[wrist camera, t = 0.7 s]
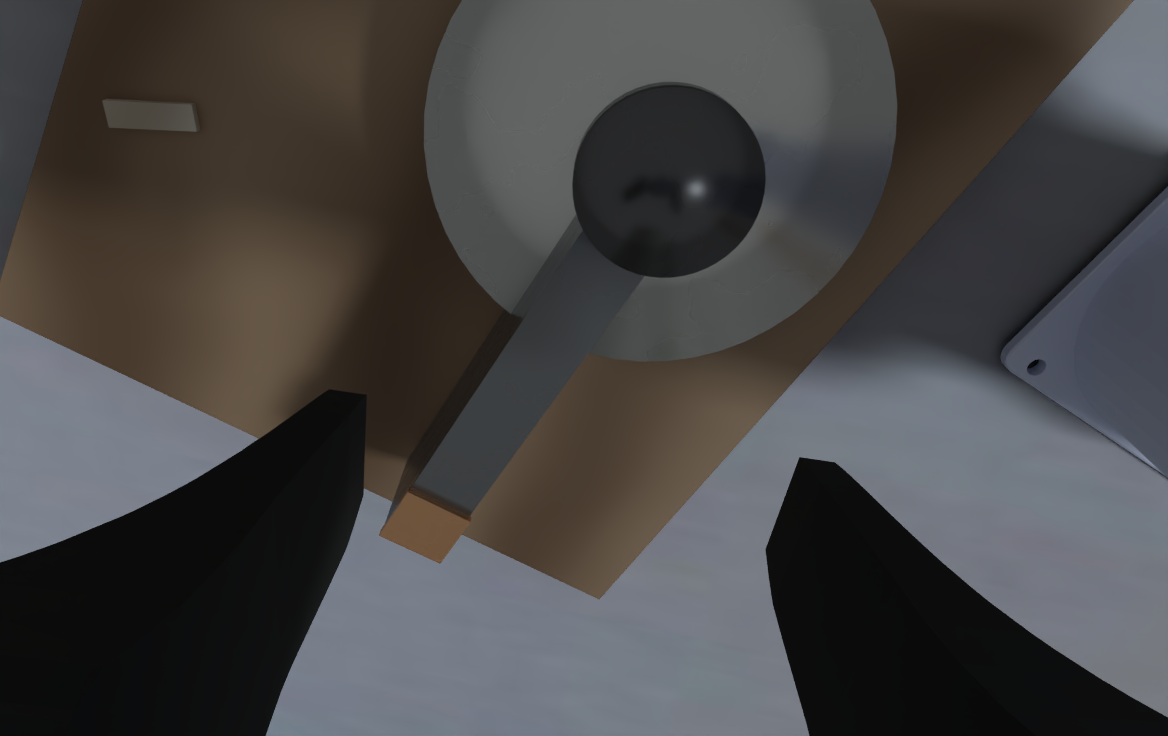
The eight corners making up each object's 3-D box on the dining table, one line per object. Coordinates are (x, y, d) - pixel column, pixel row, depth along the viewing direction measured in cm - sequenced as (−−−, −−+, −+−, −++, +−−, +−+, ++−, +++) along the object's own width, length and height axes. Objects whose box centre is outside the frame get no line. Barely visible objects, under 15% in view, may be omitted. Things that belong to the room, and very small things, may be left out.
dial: (588, -234, 15) (588, -286, 11) (969, 70, 17) (1063, 104, 14) (269, 385, 21) (209, 471, 18) (580, 538, 24) (579, 639, 20)
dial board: (1132, -50, 18) (1183, -48, 16) (598, 566, 27) (599, 604, 25) (358, -765, 13) (328, -858, 11) (26, 288, 22) (-15, 315, 20)
